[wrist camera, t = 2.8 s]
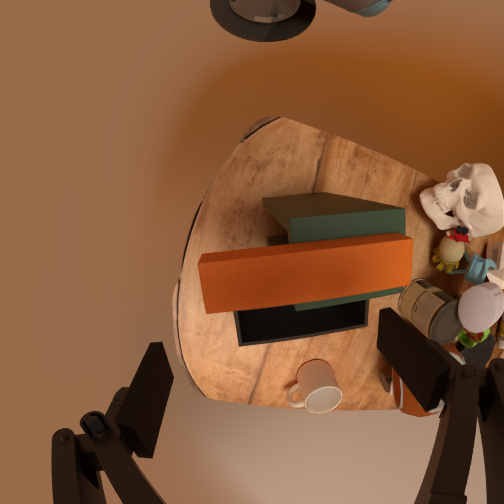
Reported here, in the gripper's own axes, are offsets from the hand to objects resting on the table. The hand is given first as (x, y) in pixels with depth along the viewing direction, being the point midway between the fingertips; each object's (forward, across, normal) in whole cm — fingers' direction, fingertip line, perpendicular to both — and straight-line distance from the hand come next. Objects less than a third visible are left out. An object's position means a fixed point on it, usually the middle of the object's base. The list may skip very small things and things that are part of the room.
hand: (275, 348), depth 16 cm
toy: (+28, +41, -3) cm, 50 cm away
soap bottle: (+20, +39, -16) cm, 47 cm away
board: (+39, +62, -47) cm, 87 cm away
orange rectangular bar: (+11, +5, +1) cm, 12 cm away
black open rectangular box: (+39, +7, -12) cm, 41 cm away
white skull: (+38, +39, -1) cm, 55 cm away
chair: (+39, +52, -14) cm, 66 cm away
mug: (+39, +9, -36) cm, 54 cm away
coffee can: (+39, +37, -21) cm, 57 cm away
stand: (+39, +9, +1) cm, 40 cm away
